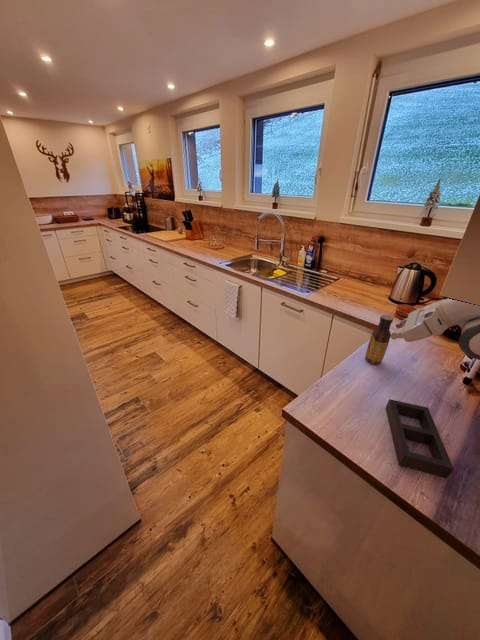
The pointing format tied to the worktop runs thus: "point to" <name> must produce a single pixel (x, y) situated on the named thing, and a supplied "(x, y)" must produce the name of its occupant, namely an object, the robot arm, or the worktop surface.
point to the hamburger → (403, 311)
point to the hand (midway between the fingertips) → (394, 331)
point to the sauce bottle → (379, 341)
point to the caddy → (417, 439)
